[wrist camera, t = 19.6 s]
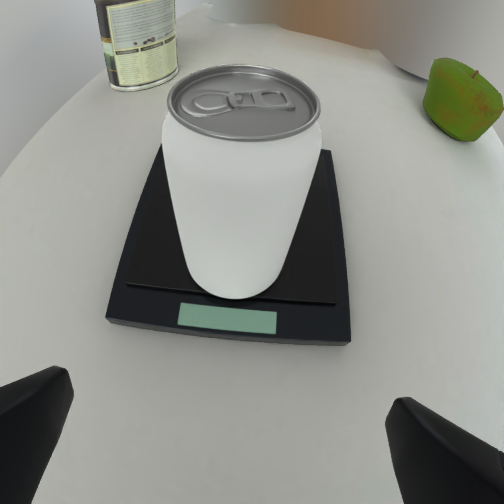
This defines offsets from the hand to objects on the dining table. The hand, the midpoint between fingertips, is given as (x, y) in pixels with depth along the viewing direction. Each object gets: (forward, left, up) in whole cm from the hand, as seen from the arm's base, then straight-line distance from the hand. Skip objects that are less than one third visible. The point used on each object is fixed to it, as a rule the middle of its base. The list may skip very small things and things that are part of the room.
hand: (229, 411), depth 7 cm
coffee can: (+34, +24, -12) cm, 44 cm away
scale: (+13, +3, -11) cm, 18 cm away
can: (+10, +3, -10) cm, 14 cm away
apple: (+42, -21, -12) cm, 48 cm away
